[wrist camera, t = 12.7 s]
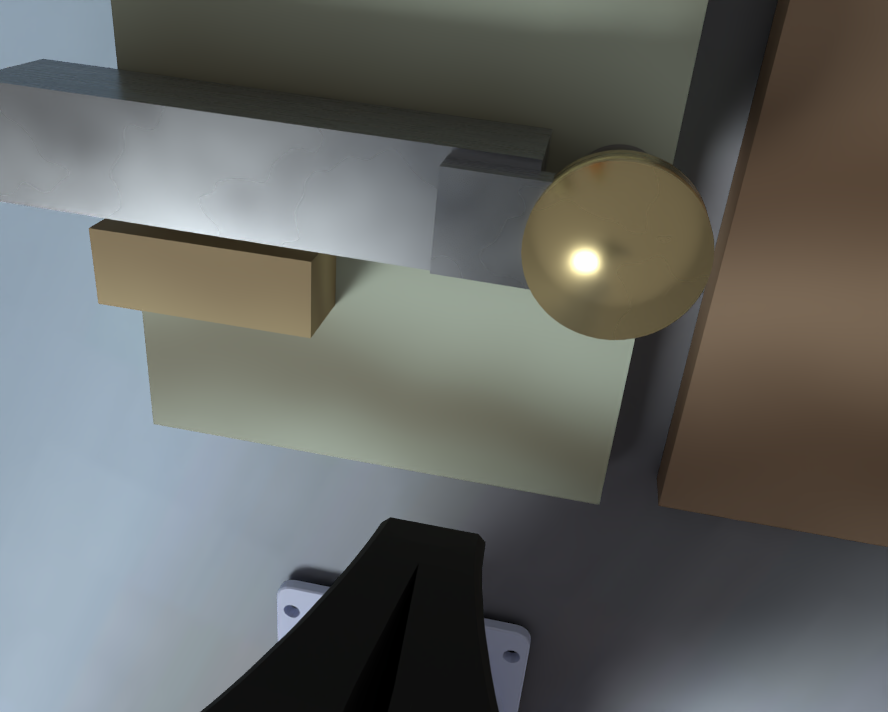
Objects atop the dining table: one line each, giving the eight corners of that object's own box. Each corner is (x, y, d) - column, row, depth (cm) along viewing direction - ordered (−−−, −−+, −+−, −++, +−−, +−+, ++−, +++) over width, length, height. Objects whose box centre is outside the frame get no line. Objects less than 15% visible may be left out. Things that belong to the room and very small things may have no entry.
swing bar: (716, 130, 16) (736, 177, 13) (678, 282, 18) (688, 354, 15) (40, 39, 18) (-72, 63, 15) (59, 185, 19) (-39, 232, 16)
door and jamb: (1255, 583, 20) (1380, 715, 17) (180, 394, 24) (107, 473, 21) (1824, -192, 13) (2254, -230, 9) (124, -306, 16) (-7, -363, 13)
